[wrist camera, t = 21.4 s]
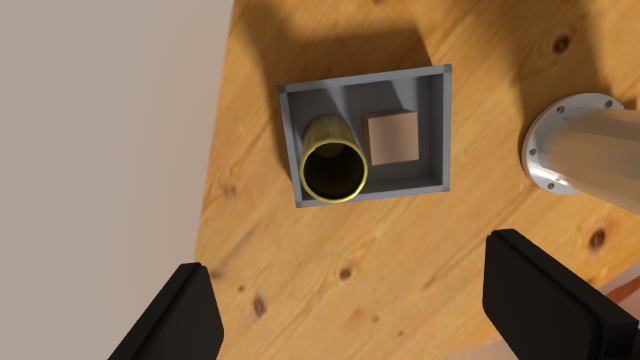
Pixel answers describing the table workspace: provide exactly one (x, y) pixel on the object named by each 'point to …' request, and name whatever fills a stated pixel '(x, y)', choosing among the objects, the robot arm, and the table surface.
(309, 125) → the vase
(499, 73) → the table surface
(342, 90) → the tote
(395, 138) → the walnut cube
